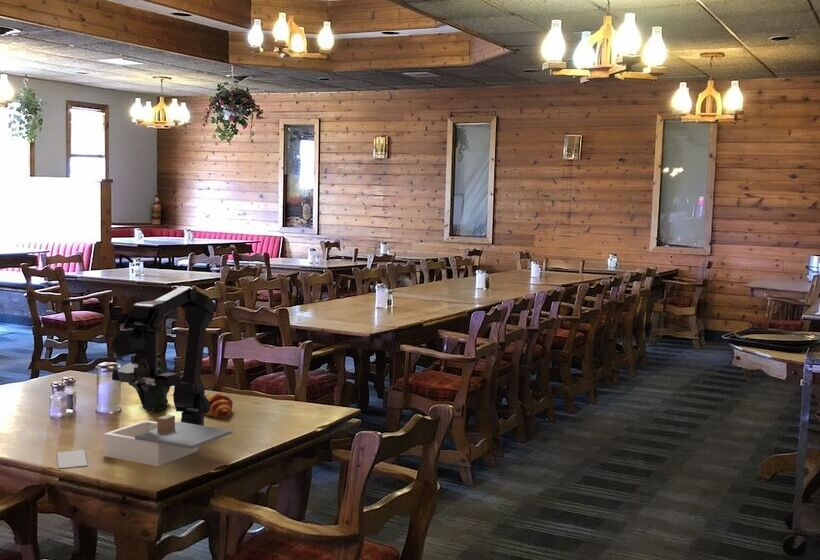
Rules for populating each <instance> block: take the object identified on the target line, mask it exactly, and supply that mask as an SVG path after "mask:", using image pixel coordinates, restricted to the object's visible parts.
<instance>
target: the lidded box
mask: <svg viewBox="0 0 820 560" xmlns="http://www.w3.org/2000/svg"><path fill="white" fill-rule="evenodd" d="M154 429H157V421H154V420H153V421H151V420H147V419H146V420H143V421H140V422H136V423H133V424H129V425H127V426H124V427H121V428H117V429H115V430H111V431H108V432H105V433H103V457H107V458H112V459H117V460H122V461H126V462H133V463H139V464H143V465H149V466H155V467H161V466H163V465H166V464H168V463H171V462H174V461H176V460H179V459H181V458H184V457H186V456H188V455H191V454H194V453H196V452H198V451H199V447H196V448H193V449H188V448H182V447H177V446H171V445H166V444H160V443H155V442H149V441H143V440H138V439H135V436H136V435H139V434H142V433H145V432H148V431H151V430H154Z"/></svg>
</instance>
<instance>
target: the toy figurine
mask: <svg viewBox="0 0 820 560" xmlns="http://www.w3.org/2000/svg"><path fill="white" fill-rule="evenodd" d="M161 366H162V360H161V358H157V369H161V373H158V374H157V375H159V374H163V373H165V372H164V370H163V368H162V367H161ZM149 378H151V377H149ZM170 389H171V387H159V389H158V390H157V392H156V394H155V396H154V398H153V400H152V402H151V404H150V406H149V408H148V409H145V410H146V411H148V412H149V411H150V412H151V411H153V410H161V411H166V410H167V409H168V403H169V400H168V397H167V396H168V393H169V392H170Z"/></svg>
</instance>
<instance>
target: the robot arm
mask: <svg viewBox="0 0 820 560" xmlns="http://www.w3.org/2000/svg"><path fill="white" fill-rule="evenodd" d="M179 307H180V308H181V309H182V310H183V317H184V320H185V322H186V324H187V326H188V329H187V336H186V337H187V338H186V347H185V355H184V362H183V372H182V377H181V376H180V374H179V373H175V372H164V373H163V374H159V375H157V374H158V373H161V369H162V368H161V369H157V358H160V359H161V358H162V357H161V355H162V353H158V338H159V337H158V335H159V334H158V333H162V332H163V329H162V328H161V326H159V324H161V323H162V322H163V321H164V320H165V319H166V315H168V313H169V314H170V312H172V311H174V310H176V309H178V308H179ZM215 312H216V303H215V302H214V300H213V299H212V298H210V297H209V296H208V295H205V294H204V293H202V292H200V291H199V290H197V289H196V287H193V286H186V285H185V286H184V285H180V286H177V287H176V288H175V289H174V290H172V291H170V292H168V293H166V294H164V295H162V296H160V297H158V298H156V299H154V300H147V301H139V302H136V303H134V304H133V306H132V308H131V309H130V312H129V314H128V315H127V318H126V320H125V323H124V325H123V327H122V329H119V330H118V334H117V335H116V336H115V337H114V338H113V340H112V342H111V343H112V344H111V347H112V350H113V352H114V354H115V355H116V356H118V357H127V356H131V357H130V362H128V363H126V364H124V365H123V366H121V367H118V368H115V369H114V370H112V372H111V380H112V381H117V382H120V383H127V384H128V385H129V386H131V387H132V388H133V389H135V391H136V392H137V396H138V397H139V400H140V402H141V403H140V404H141V406H142V409H143V410H146V409H148V408H149V406H150V404H151V402H152V400H153V398H154V396H155V394H156V392H157V390H158V389H159V387H170V388H171V387H173V394H172V398H173V404H174V408H175V411H176V412H181V418H180V422H184V423H190V424H196V425H202V426H205V413H208V412H209V411H210V406H211V404H210V402H209V401H208V399H207V398H206V397H205V396H206V394H205V393H206V392H205V391H206V389H205V385H204V382H203V380H202V379H201V376H202V366H203V356H204V349H205V340H206V334H207V333H206V331H207V329H208V327H209V326H210V324H211V322H212V321H213V319H214V315H215ZM149 377H151V378H149Z"/></svg>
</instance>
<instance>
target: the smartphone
mask: <svg viewBox="0 0 820 560" xmlns="http://www.w3.org/2000/svg"><path fill="white" fill-rule="evenodd" d="M56 460H57V469H59V470H63V469H74V468H75V469H77V468H86V467H89V463H88V459H87V454H86V450H85V449H76V450H65V451H57V452H56Z"/></svg>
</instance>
